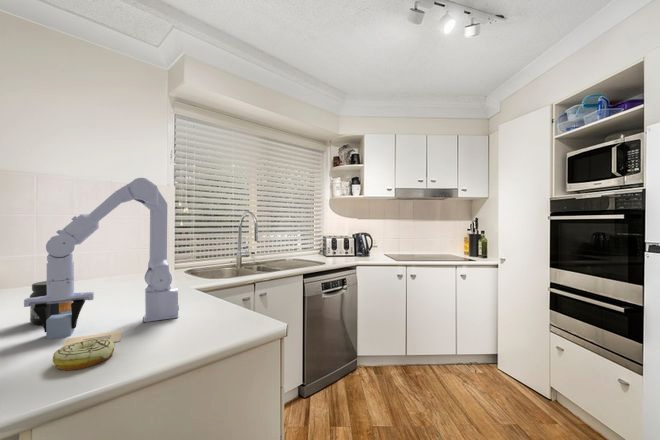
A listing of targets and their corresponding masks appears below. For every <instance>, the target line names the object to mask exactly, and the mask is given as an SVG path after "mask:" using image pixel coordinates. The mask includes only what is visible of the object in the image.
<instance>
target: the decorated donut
mask: <svg viewBox="0 0 660 440" xmlns="http://www.w3.org/2000/svg"><path fill="white" fill-rule="evenodd" d="M61 347H62V346H61ZM61 347H60V348H59V349H57V350H56V351H54V353H53V355H52V363H53V365H54V366H55V367H56V368H58V370H59V369H60V370H63V371H72V370H80V369H81V370H82V369H85V368H90V367H92V366H95V365H98V364H99V363H102V362H103V361H107V360H109V358H111V357H112V356H113V353H114V351H115V342H114V343H113V342H112V341H111V340H107V339H98V340H88V341H82V342H77V343H73V344H70V345H67V346H64V347H62V348H61Z"/></svg>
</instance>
